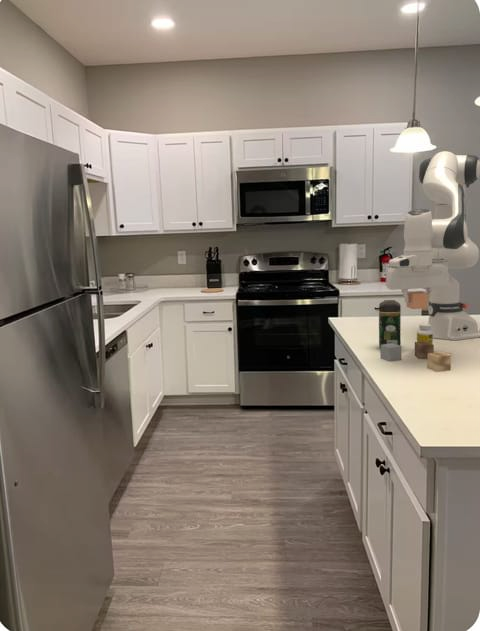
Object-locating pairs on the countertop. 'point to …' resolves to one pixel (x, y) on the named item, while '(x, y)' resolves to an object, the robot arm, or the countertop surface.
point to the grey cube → (391, 352)
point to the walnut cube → (423, 349)
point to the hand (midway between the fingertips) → (417, 301)
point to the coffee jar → (389, 322)
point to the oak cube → (439, 361)
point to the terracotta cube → (418, 300)
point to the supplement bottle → (425, 333)
